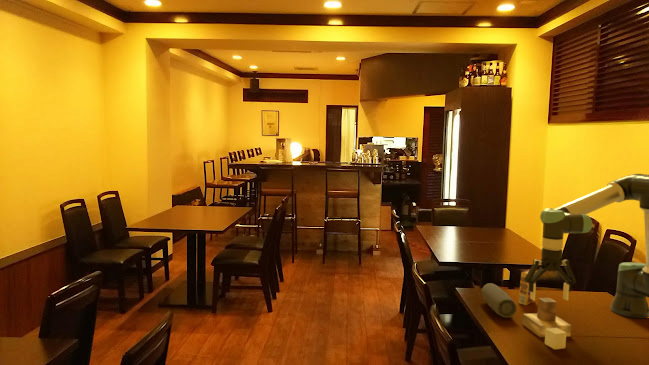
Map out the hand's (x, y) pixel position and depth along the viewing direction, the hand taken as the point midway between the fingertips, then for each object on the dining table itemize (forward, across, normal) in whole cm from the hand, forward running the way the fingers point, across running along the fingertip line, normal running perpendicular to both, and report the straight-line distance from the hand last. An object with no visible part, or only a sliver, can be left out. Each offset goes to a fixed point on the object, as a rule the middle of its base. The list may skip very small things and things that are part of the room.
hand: (549, 299), depth 196 cm
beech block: (+13, +1, 0) cm, 13 cm away
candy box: (+13, -6, -33) cm, 36 cm away
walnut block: (+8, +1, 0) cm, 8 cm away
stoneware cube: (+13, +5, +15) cm, 20 cm away
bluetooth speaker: (+13, +12, -21) cm, 28 cm away
